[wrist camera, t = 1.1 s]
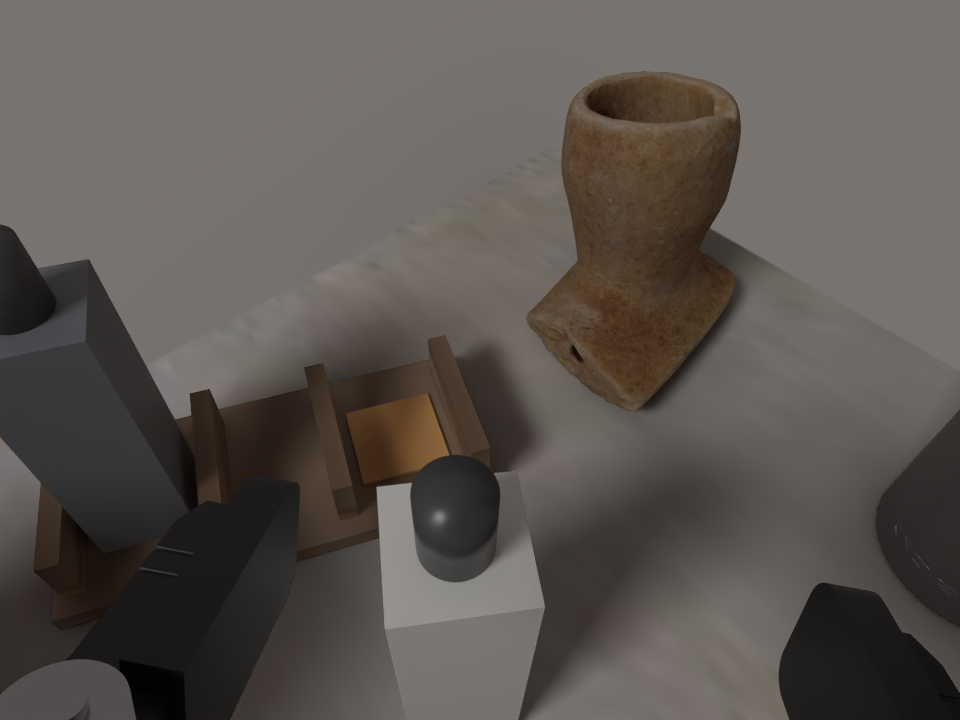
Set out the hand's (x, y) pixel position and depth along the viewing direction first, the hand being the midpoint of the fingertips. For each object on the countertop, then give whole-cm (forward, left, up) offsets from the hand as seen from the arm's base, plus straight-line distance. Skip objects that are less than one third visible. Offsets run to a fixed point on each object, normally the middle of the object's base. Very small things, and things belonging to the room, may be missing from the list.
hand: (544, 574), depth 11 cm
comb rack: (+6, -18, -23) cm, 30 cm away
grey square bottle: (+12, -18, -22) cm, 31 cm away
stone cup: (-17, -24, -23) cm, 38 cm away
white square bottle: (0, -5, -23) cm, 24 cm away
